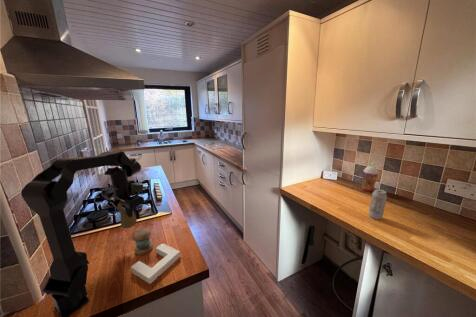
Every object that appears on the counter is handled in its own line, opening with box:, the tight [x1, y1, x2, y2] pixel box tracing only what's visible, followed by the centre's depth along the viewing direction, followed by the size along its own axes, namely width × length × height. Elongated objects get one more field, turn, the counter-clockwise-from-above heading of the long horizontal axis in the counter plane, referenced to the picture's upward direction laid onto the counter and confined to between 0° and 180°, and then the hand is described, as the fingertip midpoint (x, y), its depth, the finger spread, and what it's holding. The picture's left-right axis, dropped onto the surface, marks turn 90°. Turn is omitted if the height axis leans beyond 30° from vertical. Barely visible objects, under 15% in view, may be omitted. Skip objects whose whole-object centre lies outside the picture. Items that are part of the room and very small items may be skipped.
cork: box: [118, 200, 138, 229], centre depth 81 cm, size 6×6×11 cm
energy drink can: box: [368, 188, 388, 221], centre depth 100 cm, size 6×6×15 cm
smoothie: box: [361, 161, 379, 193], centre depth 131 cm, size 8×8×20 cm
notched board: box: [130, 242, 181, 285], centre depth 73 cm, size 14×10×2 cm
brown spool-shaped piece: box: [131, 227, 154, 256], centre depth 81 cm, size 7×7×8 cm
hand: (127, 215), depth 82 cm, fingers closed on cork, 4 cm apart
